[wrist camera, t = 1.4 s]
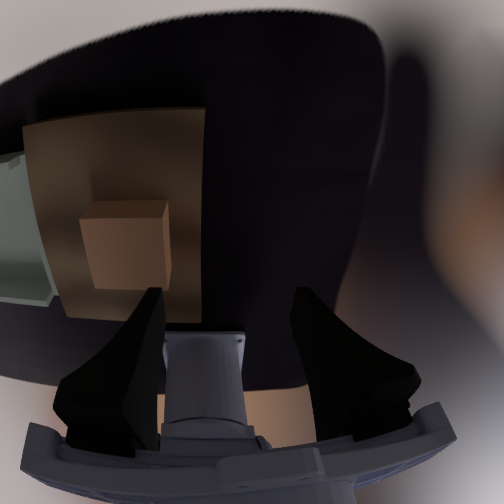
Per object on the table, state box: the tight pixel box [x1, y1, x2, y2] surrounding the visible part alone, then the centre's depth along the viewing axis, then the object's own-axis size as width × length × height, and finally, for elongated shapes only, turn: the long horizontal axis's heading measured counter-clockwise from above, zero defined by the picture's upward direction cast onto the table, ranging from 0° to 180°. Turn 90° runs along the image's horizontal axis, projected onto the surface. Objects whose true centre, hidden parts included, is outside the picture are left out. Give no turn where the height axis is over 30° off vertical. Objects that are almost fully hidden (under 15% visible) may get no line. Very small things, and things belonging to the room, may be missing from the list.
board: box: [22, 107, 205, 323], centre depth 19 cm, size 16×12×2 cm
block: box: [79, 200, 172, 291], centre depth 17 cm, size 5×5×2 cm
